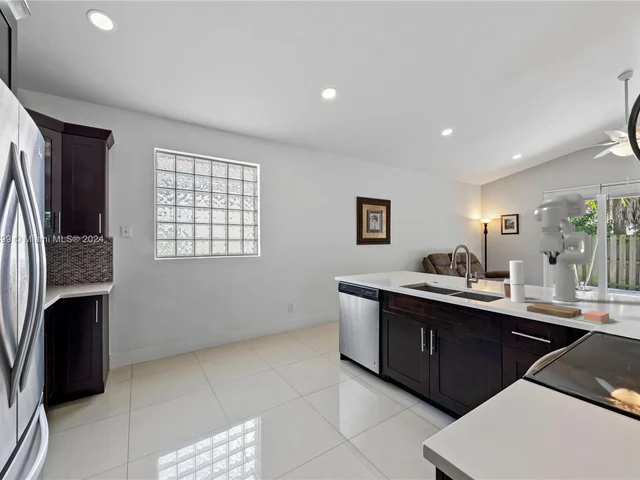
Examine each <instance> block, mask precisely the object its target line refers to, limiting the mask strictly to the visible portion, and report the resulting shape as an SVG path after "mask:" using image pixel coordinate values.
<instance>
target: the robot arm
mask: <svg viewBox="0 0 640 480" xmlns="http://www.w3.org/2000/svg"><path fill="white" fill-rule="evenodd" d="M586 213H587V206H586V201H585V199H584V197H583V195H581V194H580V193H568V194H560V195H556V196H554V197H553V198H552V199H551V200H550V201H549V202H545V203H543V204H540V205H537V206H536V208H535V209H534V212H533V218H534V220H535V221H536V222H541V227H542V228H541V229H542V232H541V233H540V236H539V237H540V238H539V250H540V251H539V253H540V254H544V255H545V256H546V257H547V258H548V264H549V265H550V266H551V265H552V266H553V268H554V269H553V271H554V290H555V291H554V293H555V295H554V296H552V298H551V299H552V300H556V301H560V302H579V301H580V299H579V297H577V293H576V276H575V275H576V272H575V270H574V269H573V268H572V266H571V265H576V266H577V265H580V266H583V265H586V266H587V265H588V264H589V263H590V262H591V239H590V235H589V233H588V232H585V231H574V224H573V223H572V222H571V221H570V220H569V219H567V218H578V217H584V216H585V215H586Z"/></svg>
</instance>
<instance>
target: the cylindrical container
mask: <svg viewBox="0 0 640 480" xmlns="http://www.w3.org/2000/svg"><path fill="white" fill-rule="evenodd" d="M524 265H525V263H524V261H523V260H509V279H510V286H511V299H510V301H511V302H512V303H520V304H521V303H526V295H525V294H526V292H525V291H526V290H525V288H526V287H525V268H524V267H525V266H524Z"/></svg>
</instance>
